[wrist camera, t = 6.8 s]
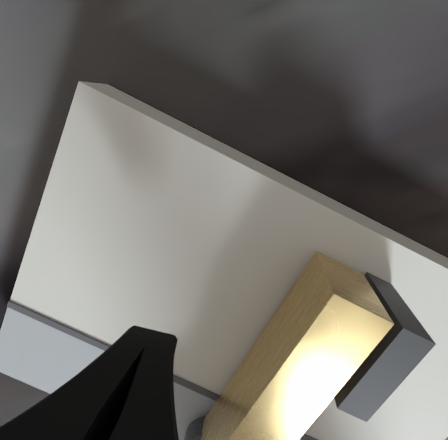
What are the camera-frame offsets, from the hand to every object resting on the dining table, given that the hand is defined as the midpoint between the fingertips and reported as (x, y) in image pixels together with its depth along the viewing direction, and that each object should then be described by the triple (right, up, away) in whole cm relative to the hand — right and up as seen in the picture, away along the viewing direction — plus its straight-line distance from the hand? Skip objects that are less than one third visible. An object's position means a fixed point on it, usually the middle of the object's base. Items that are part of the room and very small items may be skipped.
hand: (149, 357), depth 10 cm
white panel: (+3, -1, +7) cm, 8 cm away
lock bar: (+4, -2, +5) cm, 6 cm away
